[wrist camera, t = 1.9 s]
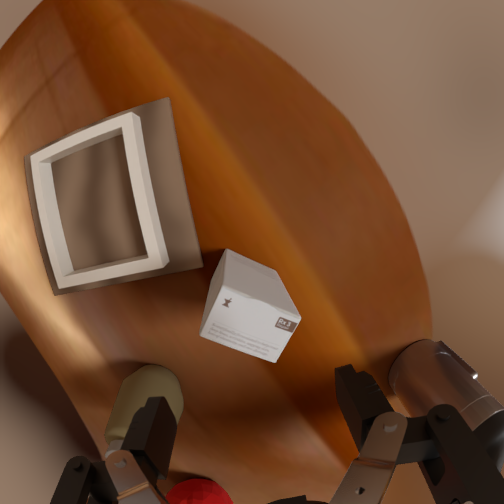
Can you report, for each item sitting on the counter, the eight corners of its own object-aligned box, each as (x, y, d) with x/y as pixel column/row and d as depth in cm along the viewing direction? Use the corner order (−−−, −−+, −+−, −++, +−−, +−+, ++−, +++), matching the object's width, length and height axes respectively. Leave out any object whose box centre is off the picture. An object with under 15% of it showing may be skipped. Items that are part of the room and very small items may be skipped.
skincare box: (209, 282, 31) (192, 339, 19) (226, 244, 30) (217, 283, 18) (262, 304, 31) (273, 369, 20) (280, 268, 31) (303, 318, 19)
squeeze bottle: (152, 408, 34) (118, 511, 17) (117, 366, 33) (59, 466, 15) (200, 394, 34) (181, 511, 16) (165, 347, 32) (118, 465, 15)
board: (170, 99, 26) (168, 97, 25) (203, 265, 30) (202, 267, 29) (27, 156, 26) (24, 156, 26) (57, 293, 30) (54, 295, 30)
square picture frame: (139, 117, 26) (131, 111, 23) (169, 261, 29) (163, 267, 27) (42, 157, 26) (30, 156, 23) (69, 282, 29) (58, 288, 27)
